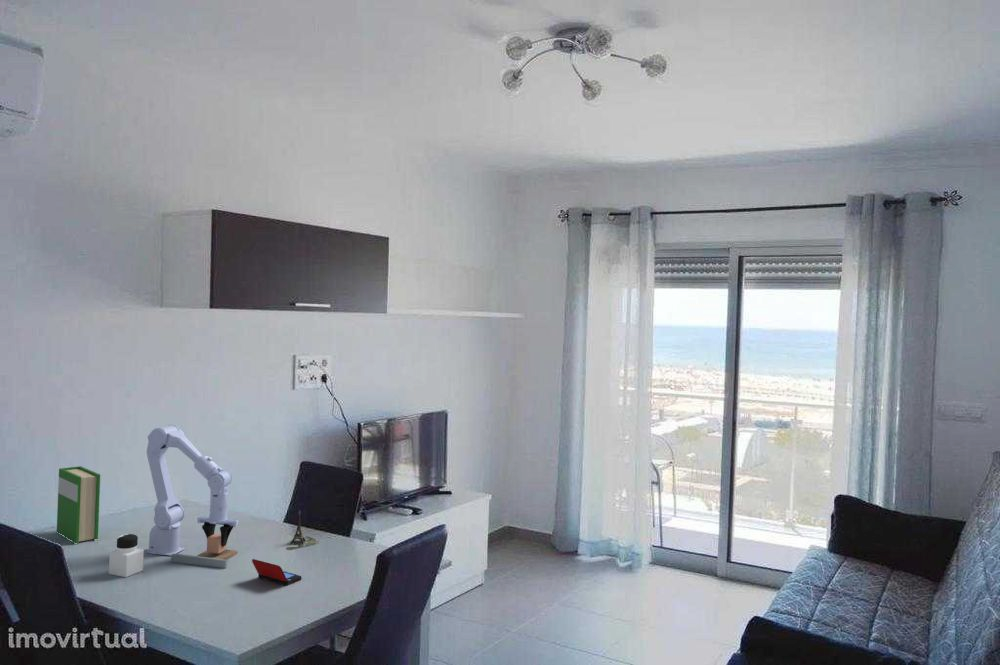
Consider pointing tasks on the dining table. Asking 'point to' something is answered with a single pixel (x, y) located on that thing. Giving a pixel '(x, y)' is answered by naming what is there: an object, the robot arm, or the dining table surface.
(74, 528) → the hardback book
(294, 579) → the handheld game console
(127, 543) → the medicine bottle
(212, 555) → the walnut pad
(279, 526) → the dining table surface
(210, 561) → the low wall
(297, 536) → the eiffel tower figurine
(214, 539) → the terracotta block
